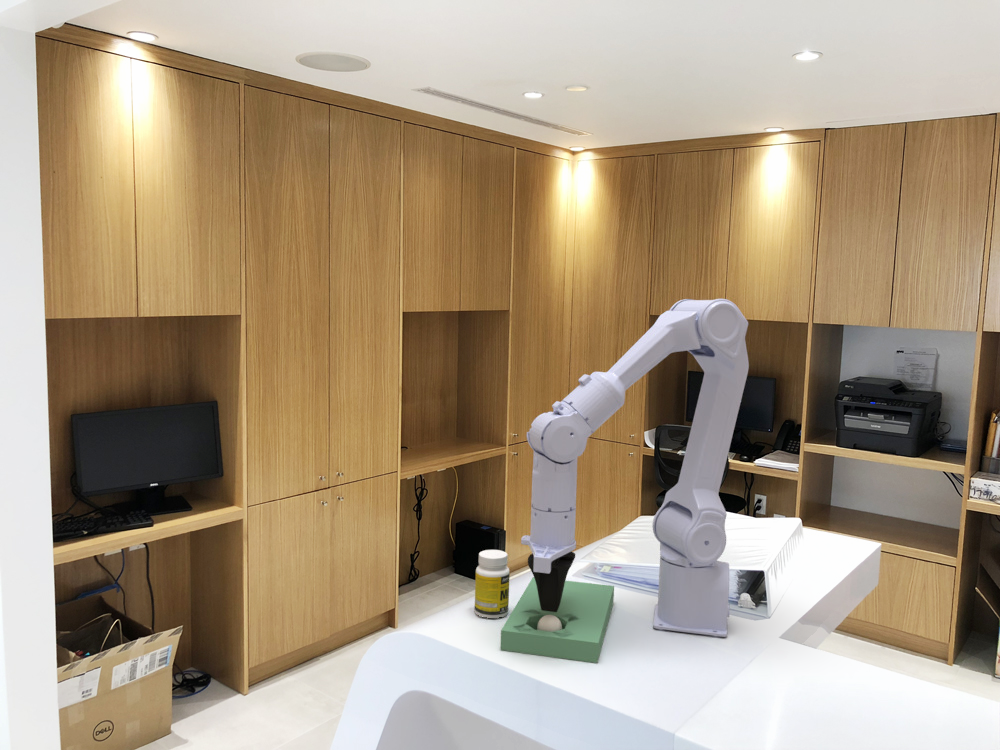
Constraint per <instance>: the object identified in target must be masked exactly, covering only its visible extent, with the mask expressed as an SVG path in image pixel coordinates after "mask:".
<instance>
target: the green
mask: <svg viewBox="0 0 1000 750" xmlns="http://www.w3.org/2000/svg"><path fill="white" fill-rule="evenodd" d="M614 597H615V586H614V585H608V584H600V583H591V582H581V581H574V580H573V581H572V580H565V584H564V589H563V594H562V598H561V602H560V606H559V608H558V611H557V612H550V611H542V610H541V606H540V602H539V596H538V590H537V585H536V581H535V578H534V576H532V578H531V579H530V582H529V583H528V585H527V586H526V588H525V590H524V591H523V593H522V595H521V596H520V597H519V599H518V601H517V603H516V605H515V606H514V607H513V610H512V611H511V613H510V615H509V616H508V618H507V619H506V622H505V623H504V625H503V627H502V628H501V630H500V649H501V650H500V651H505V650H507V651H506V652H512V651H513V653H522V654H526V655H527V654H529V655H536V656H542V657H549V658H557V659H564V660H572V661H578V662H579V661H580V662H586V663H594V664H598V663H599V658H600V655H601V651H602V647H603V644H604V640H605V637H606V632H607V628H608V626H609V621H610V618H611V613H612V610H613V606H614ZM545 615H553V616H556V617H557V618H558V619H559V620H560V622H561V624H562V629H561V630H557V631H553V632H550V631H542V630H537V625H538V622H539V620H540V619H541V618H542V617H543V616H545Z"/></svg>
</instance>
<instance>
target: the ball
mask: <svg viewBox="0 0 1000 750" xmlns="http://www.w3.org/2000/svg"><path fill="white" fill-rule="evenodd" d="M561 629H562V624H561V622H560V620H559V619H558V618H557V617H556V616H553V615H545V616H543V617H542V618H541V619H540V620H539V622H538V625H537V630H542V631H550V632H553V631H557V630H561Z"/></svg>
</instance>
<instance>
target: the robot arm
mask: <svg viewBox="0 0 1000 750" xmlns="http://www.w3.org/2000/svg"><path fill="white" fill-rule="evenodd" d="M748 327H749V321H748V320H747V318H746V317H745V315H743V313H742V311H741V310H740V308H739V307H738V306H737V305H736V303H734V302H733V301H731V300H729V299H726V298H716V299H699V300H698V299H697V300H696V299H691V298H685V299H680V300H678V301H677V302H675V303H674V304H673V305H672V306H671V307H670V308H669V310H666V311H665V312H663V313H662V314H660V315H659V316H658V318H657V319H656V321H655V322H654V324H653V325H652V326H651V327H650V328H649V329H648V330H647V331H646V332H645V333H644V334H643V335H642V336H641V337H640V338H639V339H638V340H637V341H636V342H635V343H634V344H633V345H632V346H631V347H630V348H629V349H628V350H627V351H626V352H625V353H624V355H622V356H621V357H620V358H619V359H618V360H617V362H616V363H615V364H613V365H612V366H611V368H610V369H608V371H606V372H604V371H593V372H592V373H591V374H590V375H589V374H585V373H584V374H583V375H582V376H581V377H579V378H578V380H577V381H578V383H579V384H578V385H577V386H576V387H575V388H574V389H573V390H572V391H571V392H570V393H568V395H567V396H565V397H564V398H563V399H562V400H561V401H558V400H556V401H555V402H554V403H553V404H552V405H551V407H552V409H553V411H547V412H543V413H541V414H539V415H538V416H537V417H535V418H534V419H533V421H532V423H531V424H530V426H531V427H530V428H529V431H527V432H526V440H527V443H528V445H529V447H530V448H531V449H532V450H533V452H532V453H533V454H532V455H533V458H532V471H531V473H532V474H531V504H530V505H531V506H530V507H531V508H530V535H529V534H528V535H523V536H522V537H521V539H520V543H521V545H524V546H528V547H529V549H530V551H531V554H529V556H528V557H527V565H528V567H529V569H530V571H531V573H532V575H533V576H532V577H534V578H535V581H536V585H537V590H538V596H539V602H540V606H541V610H542V611H550V612H557V611H558V608H559V606H560V602H561V598H562V594H563V589H564V584H565V581H567V580H566V579H567V576H568V573H569V570H570V568H571V567H572V565H573V563H574V561H575V558H576V553H575V552H573V551H574V550H576V548H577V541H576V539H575V538H576V515H577V514H576V513H577V512H576V511H577V488H578V487H577V485H578V484H577V481H578V458H579V457H581V456H582V455H583V453H584V452H585V451H586V447H587V444H588V438H589V437H590V436H592V435H593V434H594V433H595V432H596V431H597V430H598V429H599V428H600V427H602V425H603V424H605V422H606V421H608V420H609V419H610V418H611V417H612V416H614V414H615V413H616V412H617V411H618V410H619V409H621V408H622V407H623V406H624V405H625V400H626V390H628V389H629V388H630V387H631V386H633V385H634V384H635V383H636V382H638V381H639V380H640V379H641V378H642V377H644V376H645V375H647V373H648V372H650V371H651V370H652V369H653V368H655V367H656V366H658V364H659V363H661V362H662V361H663V360H664V359H666V358H667V357H668V356H669V355H670V354H672V353H677V352H686V351H687V352H689V354H691V355H692V356H693V357H694V359H695V360H696V362H697V364H698V365H699V366H700V368H701V370H702V371H703V373H704V374H703V378H702V383H701V386H700V391H699V395H698V399H697V401H696V402H697V403H696V407H695V411H694V415H693V420H692V424H691V428H690V431H689V436H688V440H687V444H686V448H685V453H684V457H683V461H682V463H681V464H682V466H681V469H680V472H679V473H680V474H679V476H678V481H677V483H676V484H675V485H674V486H673V487H671V488H670V489H669V490H668V491H666V493H665V496H664V500H663V502H662V505H661V507H659V509H658V510H657V512H656V513H655V515H654V518H653V520H652V533H653V534H654V535H653V536H654V537H655V538H656V540H657V541H658V542H659V551H660V552H659V572H658V573H659V574H658V595H657V604H655V608H654V615H653V621H652V625H653V626H652V627H653V628H654V629H655V630H656V629H657V630H663V631H664V630H665V631H673V632H681V633H689V634H698V635H705V636H711V637H712V636H713V637H720V638H721V637H722V638H723V637H724V638H726V637H728V619H729V617H730V614H731V613H730V611H731V609H730V607H731V605H730V603H729V601H730V600H729V597H730V563H729V562H726V561H722V560H721V561H720V560H718V559H720V557H722V555H723V553H724V551H725V549H726V545H727V533H726V528H725V525H726V524H725V523H726V519H727V511H726V508H725V506H724V504H723V502H722V501H721V498H720V496H719V492H720V488H721V486H722V485H721V484H722V481H723V480H722V479H723V475H724V471H725V468H726V463H727V459H728V456H729V452H730V448H731V443H732V439H733V434H734V430H735V427H736V424H737V423H736V422H737V418H738V414H739V410H740V406H741V402H742V398H743V393H744V389H745V386H746V381H747V377H748V373H749V367H750V364H749V363H750V362H749V355H748V350H747V344H746V343H747V342H746V335H747V331H748Z"/></svg>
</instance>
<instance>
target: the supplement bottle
mask: <svg viewBox="0 0 1000 750" xmlns="http://www.w3.org/2000/svg"><path fill="white" fill-rule="evenodd" d="M508 557H509V555H508V553H507V552H506V551H503V550H500V549H485V550H482V551H480V552H479V553H478V565H477V567H476V569H475V580H474V581H475V585H474V589H475V591H474V613H475V615H477V616H478V615H480V616H483V617H487V618H486V619H488V618H497V619H500V618H499V617H502V618H504V617H507V615H508V614H509V605H510V604H509V603H510V600H509V596H510V576H511V575H510V574H511V573H510V568H509V567H508V562H509V560H508ZM480 616H479V617H480Z"/></svg>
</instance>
